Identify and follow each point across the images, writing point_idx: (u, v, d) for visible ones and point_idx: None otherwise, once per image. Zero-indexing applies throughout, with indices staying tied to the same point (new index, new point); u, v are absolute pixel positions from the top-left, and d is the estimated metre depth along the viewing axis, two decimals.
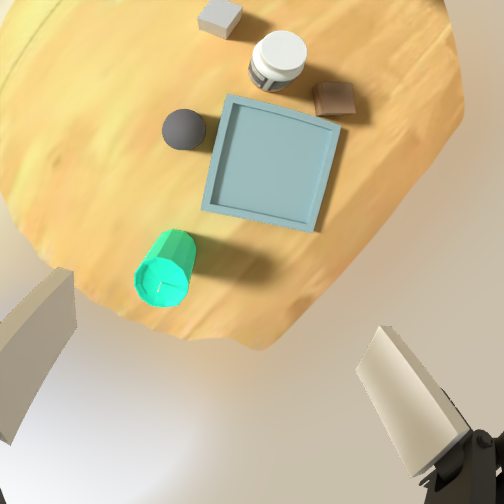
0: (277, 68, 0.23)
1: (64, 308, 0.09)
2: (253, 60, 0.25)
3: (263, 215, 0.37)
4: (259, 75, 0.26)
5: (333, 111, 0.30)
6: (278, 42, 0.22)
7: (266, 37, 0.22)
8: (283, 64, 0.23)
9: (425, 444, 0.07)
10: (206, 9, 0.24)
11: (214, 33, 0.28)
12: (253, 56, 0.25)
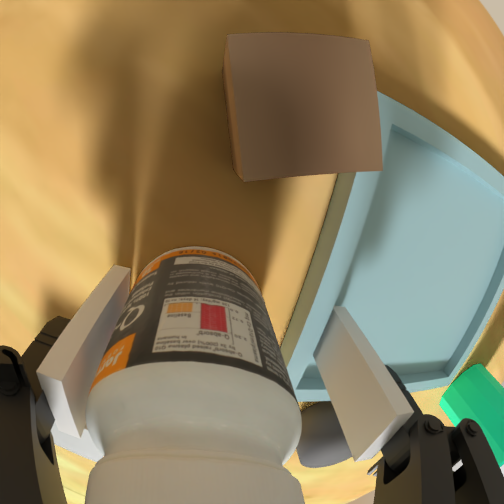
0: None
1: (122, 303, 0.10)
2: None
3: (494, 295, 0.14)
4: None
5: (375, 136, 0.07)
6: None
7: None
8: None
9: (367, 425, 0.07)
10: (75, 451, 0.11)
11: None
12: None
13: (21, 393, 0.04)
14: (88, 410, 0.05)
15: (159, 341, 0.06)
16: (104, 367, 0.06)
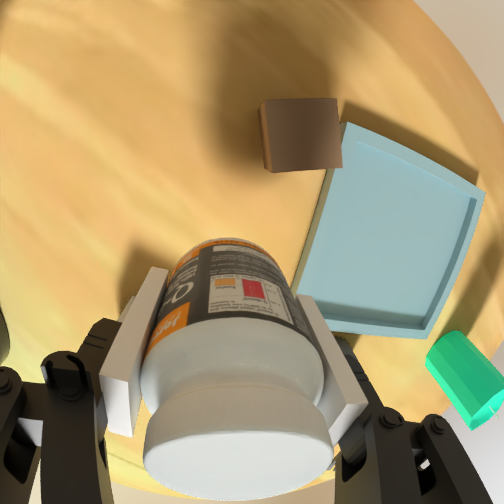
0: (322, 473, 0.06)
1: None
2: None
3: (455, 263, 0.20)
4: None
5: (338, 150, 0.15)
6: (207, 484, 0.05)
7: (197, 496, 0.06)
8: (309, 469, 0.05)
9: None
10: None
11: None
12: None
13: (84, 399, 0.05)
14: (147, 367, 0.07)
15: (212, 305, 0.08)
16: (163, 330, 0.08)
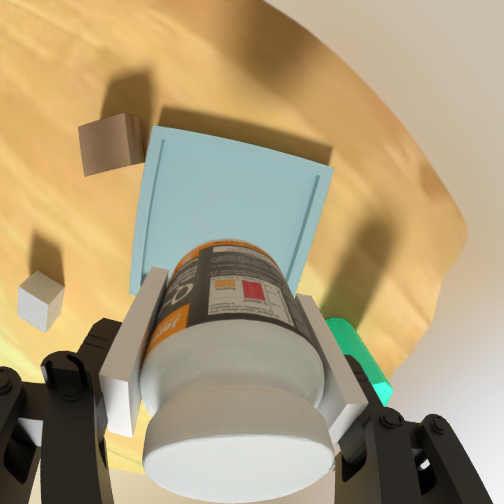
0: (322, 475, 0.06)
1: (161, 303, 0.11)
2: None
3: (301, 243, 0.25)
4: None
5: (126, 152, 0.18)
6: (208, 486, 0.05)
7: (197, 499, 0.06)
8: (309, 472, 0.05)
9: (322, 415, 0.08)
10: (33, 323, 0.22)
11: (60, 301, 0.25)
12: None
13: (84, 399, 0.05)
14: (147, 369, 0.07)
15: (212, 307, 0.08)
16: (162, 332, 0.07)
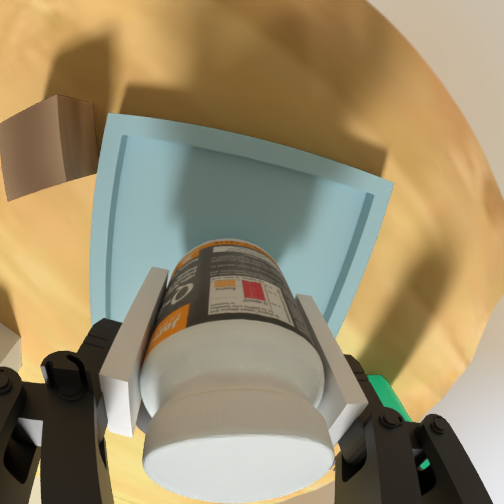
0: (322, 475, 0.06)
1: None
2: None
3: (339, 296, 0.16)
4: None
5: (59, 160, 0.10)
6: (207, 486, 0.05)
7: (197, 499, 0.06)
8: (309, 472, 0.05)
9: (322, 414, 0.08)
10: None
11: (18, 354, 0.17)
12: None
13: (84, 399, 0.05)
14: (147, 369, 0.07)
15: (212, 307, 0.08)
16: (162, 332, 0.07)
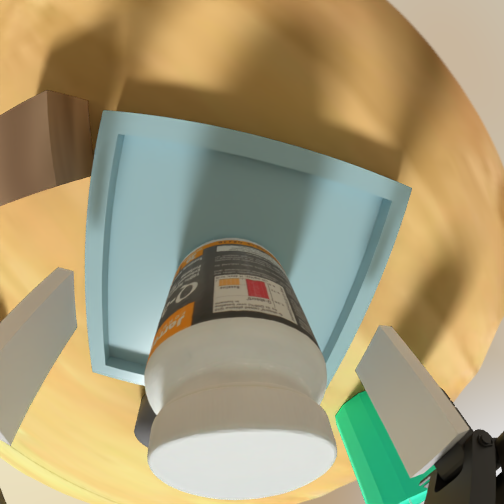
0: (325, 471, 0.06)
1: (64, 308, 0.09)
2: None
3: (352, 308, 0.15)
4: None
5: (49, 162, 0.08)
6: (211, 482, 0.05)
7: (200, 495, 0.06)
8: (312, 468, 0.05)
9: (425, 444, 0.07)
10: None
11: None
12: None
13: None
14: (152, 367, 0.07)
15: (217, 305, 0.08)
16: (167, 330, 0.08)
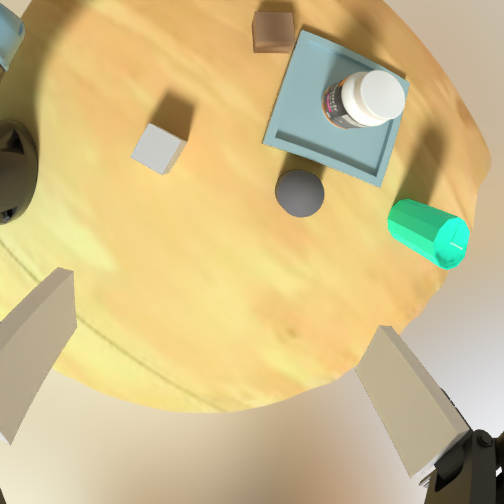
0: (403, 107, 0.20)
1: (64, 308, 0.09)
2: (372, 125, 0.23)
3: (392, 126, 0.29)
4: None
5: (292, 34, 0.23)
6: (375, 98, 0.20)
7: (371, 109, 0.20)
8: (400, 100, 0.20)
9: (425, 444, 0.07)
10: (150, 164, 0.27)
11: (178, 154, 0.30)
12: (369, 125, 0.23)
13: None
14: (349, 78, 0.21)
15: None
16: (350, 75, 0.22)
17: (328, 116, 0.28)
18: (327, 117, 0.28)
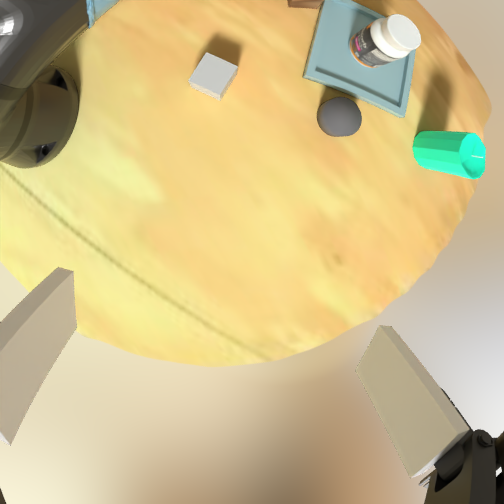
0: (420, 42, 0.20)
1: (64, 308, 0.09)
2: (396, 57, 0.24)
3: (407, 67, 0.29)
4: None
5: None
6: (399, 33, 0.20)
7: (397, 40, 0.20)
8: (417, 36, 0.20)
9: (425, 444, 0.07)
10: (208, 86, 0.27)
11: (229, 84, 0.30)
12: (394, 56, 0.23)
13: None
14: (375, 21, 0.22)
15: None
16: None
17: (357, 55, 0.28)
18: (356, 57, 0.29)
